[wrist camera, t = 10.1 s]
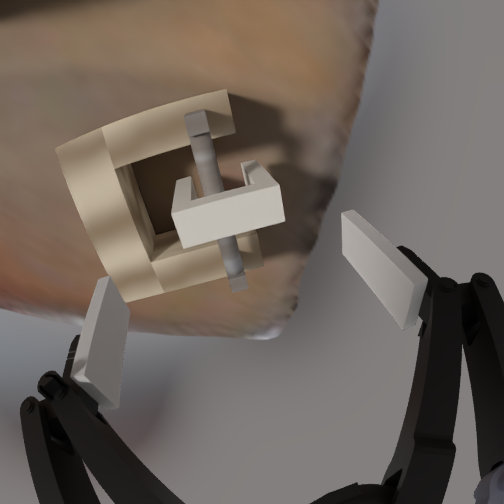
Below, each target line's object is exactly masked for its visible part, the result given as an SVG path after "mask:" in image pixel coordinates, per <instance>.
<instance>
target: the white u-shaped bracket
mask: <svg viewBox="0 0 504 504" xmlns="http://www.w3.org/2000/svg"><path fill="white" fill-rule="evenodd" d="M241 167H242V171H243V176H244V180H245V185H246V186H244V187H240V188H236V189H232V190H228V191H224V192H221V193H217V194H213V195H209V196H206V197H202V198H199V199H198V198H197V195H196V191H195V188H194V184H193V181H192V177H191V176H190V177H186V178H183V179H179V180H176V186H175V192H174V198H173V204H172V211H171V215H172V218H173V221H174V224H175V227H176V229H177V232H178V235H179V238H180V241H181V243H182V246H183V249H185V248H188V247H192V246H195V245H199V244H203V243H206V242H210V241H213V240H217V239H221V238H224V237H228V236H232V235H236V234H239V233H243V232H247V231H251V230H254V229H258V228H262V227H266V226H269V225H273V224H277V223H281V222H285V217H284V210H283V204H282V198H281V191H280V185H279V184H278V183H277V182H276V181H275V180H274V179H273V178H272V176H271V175H270V174H269V173H268V172H267V171H266V170H265V169H264V168H263V167H262V166H261V165H260V164H259V163H258V162H257V161H256V160H251V161H247V162H243V163H241Z"/></svg>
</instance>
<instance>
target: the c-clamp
mask: <svg viewBox="0 0 504 504" xmlns="http://www.w3.org/2000/svg"><path fill="white" fill-rule="evenodd" d="M234 133H236V131H235V126H234V121H233V117H232V112H231V107H230V103H229V98H228V94H227V89H224V90H220V91H215V92H211V93H207V94H202V95H198V96H194V97H191V98H187V99H183V100H180V101H176V102H173V103H169V104H166V105H163V106H159V107H156V108H153V109H150V110H147V111H144V112H141V113H138V114H135V115H132V116H130V117H127V118H124V119H121V120H119V121H116V122H113V123H111V124H108V125H106V126H103V127H101V128H99V129H96V130H94V131H91V132H89V133H87V134H85V135H82V136H80V137H78V138H76V139H74V140H71V141H69V142H67V143H65V144H63V145H61V146H59V147H57V148H55V150H56V154H57V157H58V160H59V162H60V165H61V168H62V171H63V174H64V176H65V179H66V182H67V185H68V187H69V190H70V192H71V195H72V197H73V200H74V202H75V205H76V207H77V210H78V212H79V214H80V217H81V219H82V221H83V223H84V226H85V228H86V230H87V232H88V234H89V237H90V239H91V241H92V243H93V245H94V247H95V249H96V251H97V253H98V255H99V257H100V259H101V261H102V263H103V265H104V267H105V269H106V271H107V273H108V275H109V276H110V277H111V278H112V280H113V282H114V284H115V286H116V287H117V289H118V291H119V293H120V295H121V296H122V298H123V300H124V302H125V303H126V302H130V301H134V300H138V299H142V298H146V297H150V296H154V295H158V294H161V293H165V292H169V291H173V290H177V289H181V288H185V287H188V286H192V285H196V284H200V283H204V282H207V281H211V280H215V279H219V278H222V277H226V276H228V279H229V282H230V286H231V289H232V292H237V291H241V290H244V289H248V288H249V287H248V284H247V280H246V276H245V271H248V270H252V269H256V268H259V267H263V266H264V264H263V259H262V254H261V249H260V244H259V239H258V235H257V232H256V230H255V229H254V230H251V231H247V232H243V233H239V234H236V235H232V236H228V237H224V238H221V239H217V240H213V241H210V242H206V243H203V244H199V245H195V246H192V247H188V248H185V249H183V246H182V243H181V241H180V238H179V235H178V232H177V229H176V230H172V231H169V232H165V233H162V234H158V235H156V234H155V231H154V229H153V226H152V223H151V221H150V218H149V215H148V212H147V210H146V207H145V204H144V201H143V199H142V196H141V193H140V190H139V187H138V184H137V181H136V178H135V175H134V172H133V169H132V166H131V163H133V162H136V161H139V160H142V159H145V158H148V157H151V156H154V155H157V154H160V153H163V152H167V151H170V150H173V149H177V148H180V147H184V146H187V145H191V148H192V151H193V155H194V159H195V163H196V167H197V170H198V174H199V178H200V181H201V185H202V189H203V192H204V196H205V197H206V196H209V195H213V194H217V193H221V192H224V187H223V183H222V179H221V175H220V171H219V167H218V163H217V158H216V154H215V150H214V146H213V142H212V139H214V138H218V137H222V136H226V135H230V134H234Z"/></svg>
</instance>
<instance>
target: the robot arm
mask: <svg viewBox="0 0 504 504" xmlns="http://www.w3.org/2000/svg"><path fill="white" fill-rule="evenodd" d="M341 218H342V254H343V255H344V256H345V257H346V259H347V260H348V261H349V262H350V263H351V265H352V266H353V267H354V268H355V269H356V271H357V272H358V273H359V274H360V276H361V277H362V278H363V279H364V281H365V282H366V283H367V284H368V286H369V287H370V288H371V289H372V291H373V292H374V293H375V295H376V296H377V297H378V298H379V300H380V301H381V302H382V304H383V305H384V306H385V307H386V309H387V310H388V311H389V313H390V314H391V315H392V317H393V318H394V319H395V320H396V322H397V323H398V325H399V326H400V327H401V329H402V330H405V329H407V328H409V327H411V326H413V325H415V324H416V321H417V319H418V315H419V317H420V318H421V319H422V320H423V322H422V325H421V328H420V331H419V334H418V336H420V341H419V349H418V355H417V361H416V367H415V373H414V378H413V383H412V388H411V393H410V398H409V402H408V407H407V411H406V415H405V418H404V422H403V426H402V430H401V433H400V437H399V440H398V443H397V447H396V450H395V453H394V456H393V458H392V461H391V463H390V464H389V466H388V469H387V471H386V473H385V475H384V478H383V481H382V483H381V485H379V484H362V485H358V483H357V482H356V483H354V484H352V485H349V486H346V487H344V488H341V489H338V490H336V491H333V492H330V493H328V494H326V495H324V496H322V497H321V498H319V499H317V500H316V501H314V502H312V503H310V504H442V502H443V499H444V495H445V492H446V489H447V486H448V482H449V478H450V475H451V471H452V467H453V463H454V458H455V453H456V447H455V444H454V443H453V441H452V440H453V433H454V427H455V421H456V414H457V406H458V399H459V389H460V378H461V377H460V376H461V361H462V344H463V349H464V353H465V357H466V362H467V367H468V372H469V378H470V383H471V390H472V396H473V403H474V411H475V420H476V431H477V446H478V462H479V471H480V476H481V481H480V482H479V484H478V486H477V488H476V490H475V491H474V498H475V499H476V503H475V504H504V302H503V300H502V297H501V295H500V293H499V291H498V289H497V286H496V285H495V282H494V281H493V279H492V278H491V277H490V276H489V275H487V274H484V273H475V274H474V275H473V276H472V278H471V281H470V282H469V283H461V284H458V283H457V282H455V281H454V280H453V279H451V278H447V277H441V278H440V277H439V276H438V275H437V274H436V273H435V272H434V271H433V270H432V269H431V268H430V267H429V266H428V265H427V264H426V263H424V262H422V260H421V259H420V258H419V257H417V255H416V254H415V253H414V252H413V251H411V250H410V249H408V248H406V247H404V246H399V247H395V246H394V245H393V244H392V243H391V242H389V241H388V240H387V239H386V238H385V237H384V236H383V235H382V234H381V233H380V232H378V231H377V230H376V229H375V228H374V227H373V226H372V225H370V224H369V223H368V222H367V221H366V220H365V219H364V218H362V217H361V216H360V215H359V214H358V213H357V212H355V211H354V210H350V211H346V212H342V213H341ZM129 317H130V310H129V308H128V307H127V305H126V303H125V302H124V300H123V298H122V296H121V295H120V293H119V291H118V289H117V287H116V286H115V284H114V282H113V280H112V278H111V277H110V276H107V277H103V278H100V279H98V282H97V285H96V288H95V291H94V294H93V297H92V300H91V303H90V306H89V309H88V312H87V315H86V318H85V322H84V325H83V329H82V332H81V334H80V335H76V337H75V338H74V340H73V341H72V343H71V346H70V349H69V353H68V357H67V361H66V364H65V369H64V373H63V377H60V375H59V374H58V373H57V372H56V371H48V372H47V373H45V374H44V375H43V376H42V377H41V378H40V380H39V382H38V387H37V388H38V392H39V393H40V394H42V395H43V396H44V397H45V398H46V399H44V400H42V401H40V402H39V401H38V400H37V399H36V398H35V397H32V396H30V397H27V398H26V399H25V400H24V401H23V403H22V404H21V407H20V417H21V425H22V431H23V438H24V443H25V448H26V454H27V458H28V463H29V467H30V472H31V476H32V479H33V483H34V487H35V490H36V493H37V497H38V500H39V503H40V504H101V503H100V501H99V499H98V497H97V495H96V493H95V491H94V488H93V486H92V484H91V481H90V479H89V477H88V474H87V471H86V469H85V466H84V464H83V461H84V462H85V464H86V466H87V467H88V468H89V470H90V471H91V473H92V474H93V476H94V477H95V478H96V480H97V481H98V482H99V484H100V485H101V487H102V488H103V489H104V490H105V492H106V493H107V494H108V496H109V497H110V498H111V499H112V501H113V502H114V503H115V504H185V503H184V502H182V500H180V499H179V498H178V497H177V496H176V495H175V494H174V493H172V492H171V491H170V490H169V489H168V488H167V487H166V486H165V485H164V484H163V483H162V482H161V481H160V480H159V479H158V478H157V477H156V476H155V475H154V474H153V473H151V471H150V470H149V469H148V468H147V467H146V466H145V465H144V464H143V463H142V462H141V461H140V460H139V459H138V458H137V456H136V455H135V454H134V453H133V452H132V451H131V450H130V449H129V447H127V445H126V444H125V443H124V442H123V441H122V439H121V438H120V437H119V436H118V434H117V433H116V432H115V431H114V430H113V428H112V427H111V426H110V425H109V423H108V422H107V421H106V419H105V418H104V417H103V415H102V414H101V413H100V412H99V411H98V404H99V405H100V406H101V407H103V408H104V409H105V410H111V409H119V401H120V389H121V378H122V368H123V359H124V351H125V344H126V336H127V330H128V323H129ZM82 460H83V461H82Z"/></svg>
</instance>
